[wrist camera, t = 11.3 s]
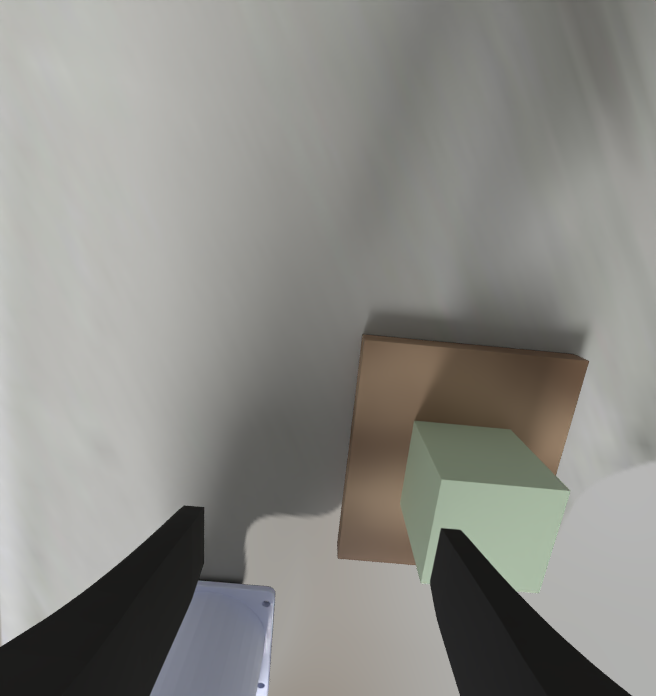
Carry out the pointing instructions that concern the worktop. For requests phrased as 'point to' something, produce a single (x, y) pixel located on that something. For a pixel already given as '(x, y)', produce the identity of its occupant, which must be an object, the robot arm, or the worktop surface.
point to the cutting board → (441, 407)
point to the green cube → (482, 499)
